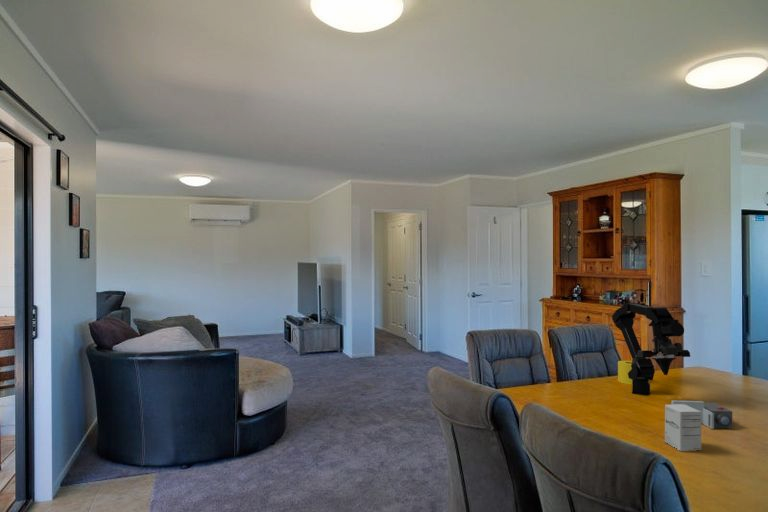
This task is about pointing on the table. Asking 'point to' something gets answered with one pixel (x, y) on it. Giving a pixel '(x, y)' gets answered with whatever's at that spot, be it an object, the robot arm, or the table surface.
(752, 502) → the table surface
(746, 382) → the table surface
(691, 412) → the supplement box
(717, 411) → the camera body
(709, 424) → the side door
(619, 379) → the yellow paper roll
